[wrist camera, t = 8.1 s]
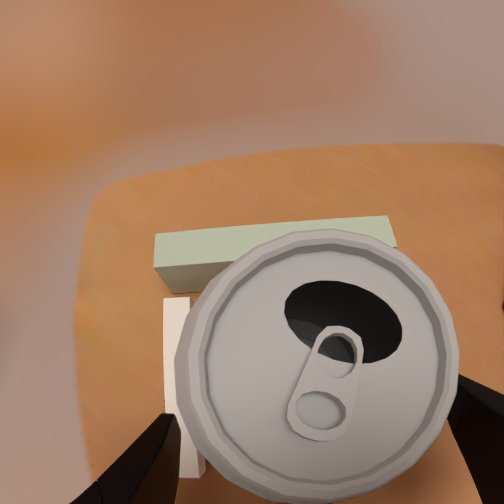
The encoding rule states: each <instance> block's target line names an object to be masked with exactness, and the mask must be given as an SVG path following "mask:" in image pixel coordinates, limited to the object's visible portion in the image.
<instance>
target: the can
mask: <svg viewBox="0 0 504 504" xmlns="http://www.w3.org/2000/svg"><path fill="white" fill-rule="evenodd" d="M459 358H460V351H459V346H458V341H457V337H456V332H455V328H454V323H453V319H452V315H451V313H450V311H449V309H448V307H447V305H446V303H445V302H444V300H443V298H442V296H441V295H440V293H439V291H438V289H437V288H436V286H435V284H434V282H433V281H432V279H431V278H430V277H428V276H427V275H426V274H425V273H424V272H423V271H422V270H421V269H420V268H419V267H418V266H417V265H416V264H415V263H414V262H413V261H412V260H411V259H410V258H409V257H408V256H407V255H406V254H405V253H403V252H401V251H399V250H397V249H395V248H393V247H391V246H389V245H387V244H386V243H384V242H382V241H380V240H378V239H376V238H374V237H372V236H369V235H364V234H359V233H354V232H349V231H344V230H339V229H334V228H328V229H317V230H306V231H295V232H290V233H288V234H285V235H283V236H280V237H278V238H275V239H273V240H270V241H268V242H265V243H263V244H260V245H258V246H255V247H254V248H252V249H251V250H250V251H248V252H247V253H246V254H243V255H242V256H241V257H239V258H238V259H237V260H236V261H234V262H233V263H232V264H231V265H229V266H228V267H227V268H226V269H224V270H223V271H222V272H221V273H219V274H218V275H217V276H216V277H214V278H213V279H212V280H211V281H210V282H209V283H208V285H207V286H206V288H205V289H204V291H203V292H202V294H201V295H200V297H199V298H198V300H197V301H196V302H195V304H194V305H193V307H192V308H191V310H190V311H189V313H188V314H187V316H186V318H185V322H184V325H183V329H182V332H181V336H180V339H179V343H178V346H177V350H176V354H175V357H174V370H175V388H176V403H177V406H178V409H179V411H180V414H181V416H182V419H183V421H184V423H185V426H186V428H187V430H188V433H189V435H190V437H191V439H192V442H193V444H194V446H195V447H196V448H197V449H198V451H199V452H200V453H201V454H202V455H203V456H204V457H205V458H206V459H207V460H208V461H209V462H210V463H211V465H212V466H213V467H214V468H215V469H216V470H217V471H218V472H219V473H220V474H221V475H222V476H223V477H224V478H225V479H226V480H228V481H230V482H232V483H233V484H235V485H237V486H239V487H241V488H243V489H245V490H247V491H249V492H251V493H253V494H255V495H257V496H260V497H262V498H264V499H266V500H268V501H275V502H282V503H290V504H328V503H333V502H338V501H342V500H346V499H350V498H354V497H358V496H361V495H363V494H365V493H368V492H372V491H375V490H377V489H378V488H380V487H382V486H383V485H385V484H387V483H388V482H390V481H391V480H393V479H395V478H396V477H398V476H399V475H401V474H402V473H404V472H405V471H407V470H408V469H410V468H411V467H412V466H414V464H415V463H416V462H417V461H418V460H419V459H420V457H421V456H422V455H423V454H424V453H425V452H426V450H427V449H428V448H429V447H430V445H431V444H432V443H433V442H434V440H435V439H436V438H437V437H438V435H439V434H440V433H441V431H442V428H443V426H444V424H445V421H446V419H447V417H448V414H449V412H450V409H451V407H452V404H453V401H454V399H455V396H456V393H457V384H458V373H459Z"/></svg>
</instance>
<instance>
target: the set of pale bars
mask: <svg viewBox="0 0 504 504" xmlns="http://www.w3.org/2000/svg"><path fill="white" fill-rule="evenodd" d="M328 228H334V229H339V230H344V231H349V232H354V233H359V234H364V235H369V236H372V237H374V238H376V239H378V240H380V241H382V242H384V243H386V244H387V245H389V246H391V247H393V248H395V249H396V247H397V244H396V241H395V237H394V234H393V231H392V228H391V225H390V222H389V219H388V216H371V217H354V218H338V219H323V220H309V221H295V222H282V223H269V224H257V225H245V226H233V227H222V228H211V229H200V230H190V231H179V232H169V233H160V234H156V237H155V250H154V265H153V268H154V269H155V270H156V272H157V273H158V274H159V276H160V277H161V278H162V280H163V281H164V282H165V284H166V285H167V286H168V288H169V289H170V290H171V292H172V293H173V294H176V293H191V292H203V291H204V289H205V288H206V286H207V285H208V283H209V282H210V281H211V280H212V279H213V278H214V277H216V276H217V275H218V274H219V273H221V272H222V271H223V270H224V269H226V268H227V267H228V266H229V265H231V264H232V263H233V262H234V261H236V260H237V259H238V258H239V257H241V256H242V255H243V254H246V253H247V252H248V251H250V250H251V249H252V248H254V247H255V246H258V245H260V244H263V243H265V242H268V241H270V240H273V239H275V238H278V237H280V236H283V235H285V234H288V233H290V232H295V231H306V230H317V229H328ZM193 305H194V303H193V301H192V300H191V298H190V297H179V298H164V304H163V356H164V390H165V410H166V413H173V414H175V416H176V418H177V421H178V424H179V427H180V429H181V450H180V470H179V478H200V477H201V476H202V475H203V474H204V472H205V471H206V463H205V457H204V456H203V455H202V454H201V453H200V452H199V451H198V449H197V448H196V447H195V446H194V444H193V442H192V439H191V437H190V435H189V433H188V430H187V428H186V426H185V423H184V421H183V419H182V416H181V414H180V411H179V409H178V406H177V403H176V388H175V370H174V357H175V354H176V350H177V346H178V343H179V339H180V336H181V332H182V329H183V325H184V322H185V318H186V316H187V314H188V313H189V311H190V310H191V308H192V307H193Z"/></svg>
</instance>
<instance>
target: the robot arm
mask: <svg viewBox="0 0 504 504" xmlns="http://www.w3.org/2000/svg"><path fill="white" fill-rule="evenodd" d="M447 420H448V422H449V425H450V428H451V431H452V433H453V435H454V438H455V440H456V442H457V444H458V446H459V448H460V450H461V453H462V455H463V457H464V459H465V462H466V464H467V466H468V469H469V471H470V473H471V476H472V478H473V480H474V483H475V485H476V488H477V490H478V493H479V495H480V498H481V500H482V503H483V504H504V395H503V394H501V393H499V392H497V391H494V390H492V389H490V388H488V387H486V386H484V385H481V384H479V383H477V382H475V381H473V380H471V379H469V378H466V377H464V376H462V375H460V374H458V384H457V393H456V396H455V399H454V401H453V404H452V407H451V409H450V412H449V414H448V417H447ZM180 450H181V429H180V427H179V424H178V421H177V418H176V416H175V414H173V413H162V414H160V415H159V416H158V417H157V418H156V420H155V421H154V422H153V423H152V424H151V425H150V426H149V427H148V428H147V429H146V430H145V431H144V432H143V433H142V434H141V435H140V436H139V437H138V438H137V439H136V440H135V441H134V443H133V444H132V445H131V446H130V447H129V448H128V449H127V450H126V451H125V452H124V453H123V454H122V455H121V456H120V457H119V458H118V459H117V460H116V461H115V462H114V463H113V464H112V465H111V466H110V467H109V468H108V469H107V470H106V471H105V472H104V473H103V474H102V475H101V476H100V477H99V478H98V479H97V481H95V482H94V483H93V484H92V485H91V486H90V487H89V488H87V489H86V490H85V491H84V492H83V493H82V494H81V495H80V496H79V497H78V498H76V499H75V500H74V501H72V502H71V503H70V504H174V503H175V497H176V491H177V486H178V480H179V470H180Z"/></svg>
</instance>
